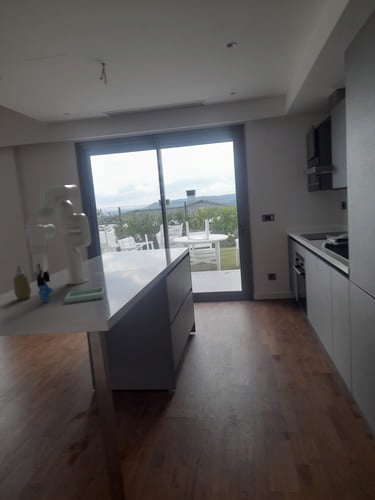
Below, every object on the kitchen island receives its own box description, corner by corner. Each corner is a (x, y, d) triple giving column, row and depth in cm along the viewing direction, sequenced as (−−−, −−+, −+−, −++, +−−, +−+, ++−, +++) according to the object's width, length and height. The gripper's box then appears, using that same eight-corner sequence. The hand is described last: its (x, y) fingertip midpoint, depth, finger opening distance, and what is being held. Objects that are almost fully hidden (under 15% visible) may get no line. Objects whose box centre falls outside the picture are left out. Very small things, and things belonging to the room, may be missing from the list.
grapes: (52, 304, 163) (48, 281, 161) (38, 306, 162) (33, 283, 159) (56, 297, 174) (53, 275, 172) (43, 299, 173) (39, 277, 171)
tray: (70, 296, 175) (69, 291, 175) (105, 291, 178) (104, 287, 178) (65, 303, 162) (64, 298, 161) (102, 298, 164) (102, 293, 164)
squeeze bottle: (25, 300, 176) (19, 267, 173) (12, 300, 177) (6, 267, 175) (35, 296, 183) (30, 264, 181) (22, 296, 185) (17, 264, 183)
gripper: (36, 249, 172) (40, 281, 174) (25, 252, 155) (30, 288, 157) (51, 247, 173) (55, 279, 175) (42, 250, 156) (47, 286, 158)
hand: (44, 283), depth 166 cm, fingers open, 9 cm apart
